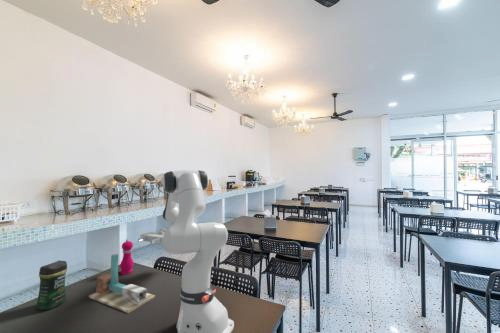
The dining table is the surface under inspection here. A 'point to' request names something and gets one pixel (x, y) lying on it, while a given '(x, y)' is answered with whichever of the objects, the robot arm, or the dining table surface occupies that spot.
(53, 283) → the coffee jar
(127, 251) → the pepper mill
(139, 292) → the tube fixture
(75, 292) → the dining table surface
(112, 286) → the tube
